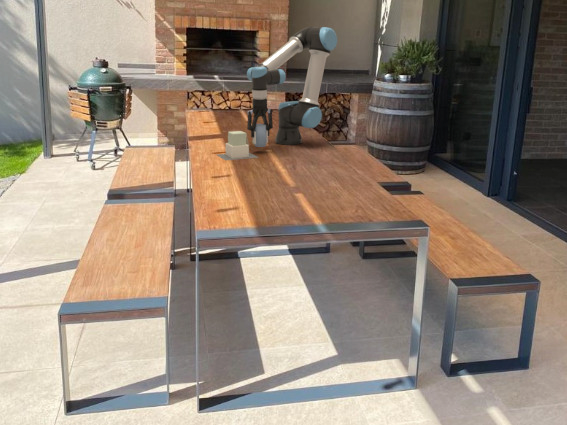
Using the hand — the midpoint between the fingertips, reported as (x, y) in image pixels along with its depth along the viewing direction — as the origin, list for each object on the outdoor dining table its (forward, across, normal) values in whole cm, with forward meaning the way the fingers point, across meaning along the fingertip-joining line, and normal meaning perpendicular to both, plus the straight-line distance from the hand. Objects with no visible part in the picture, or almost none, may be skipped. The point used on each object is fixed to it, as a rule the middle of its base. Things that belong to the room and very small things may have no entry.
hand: (260, 142), depth 334 cm
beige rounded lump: (+6, +5, -15) cm, 17 cm away
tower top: (-2, +14, +4) cm, 15 cm away
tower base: (+4, +15, +4) cm, 16 cm away
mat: (+5, +15, +4) cm, 16 cm away
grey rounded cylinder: (+1, 0, 0) cm, 1 cm away
